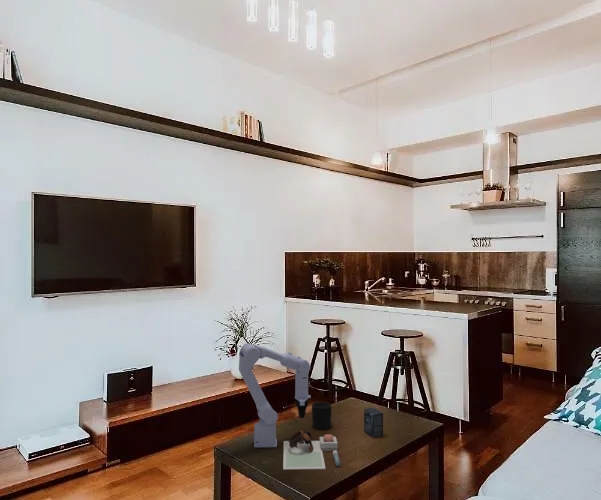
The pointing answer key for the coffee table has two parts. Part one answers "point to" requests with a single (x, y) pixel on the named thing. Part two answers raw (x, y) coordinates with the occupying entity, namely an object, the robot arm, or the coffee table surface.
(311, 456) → the paper
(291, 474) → the coffee table surface
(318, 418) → the pen holder
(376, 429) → the box
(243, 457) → the coffee table surface
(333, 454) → the marker
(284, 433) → the coffee table surface
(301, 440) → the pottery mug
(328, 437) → the button
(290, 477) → the coffee table surface
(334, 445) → the white square holder
